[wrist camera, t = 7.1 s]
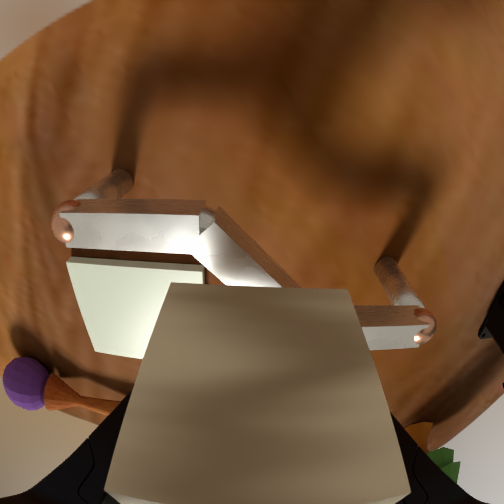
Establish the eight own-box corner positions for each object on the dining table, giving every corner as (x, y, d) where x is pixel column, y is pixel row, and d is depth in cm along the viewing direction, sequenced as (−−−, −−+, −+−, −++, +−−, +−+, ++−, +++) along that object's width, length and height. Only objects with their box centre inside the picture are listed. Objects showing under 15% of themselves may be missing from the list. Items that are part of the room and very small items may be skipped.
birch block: (347, 289, 9) (410, 492, 3) (316, 392, 11) (334, 537, 6) (171, 282, 9) (103, 489, 3) (186, 387, 11) (163, 533, 6)
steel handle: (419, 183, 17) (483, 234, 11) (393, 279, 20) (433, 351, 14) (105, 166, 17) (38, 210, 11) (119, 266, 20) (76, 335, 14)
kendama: (173, 453, 27) (9, 407, 24) (177, 404, 32) (23, 366, 29) (174, 441, 23) (-12, 386, 20) (179, 384, 28) (6, 340, 25)
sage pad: (204, 265, 20) (202, 271, 19) (209, 359, 24) (207, 366, 24) (71, 256, 20) (66, 262, 19) (98, 345, 24) (95, 351, 24)
